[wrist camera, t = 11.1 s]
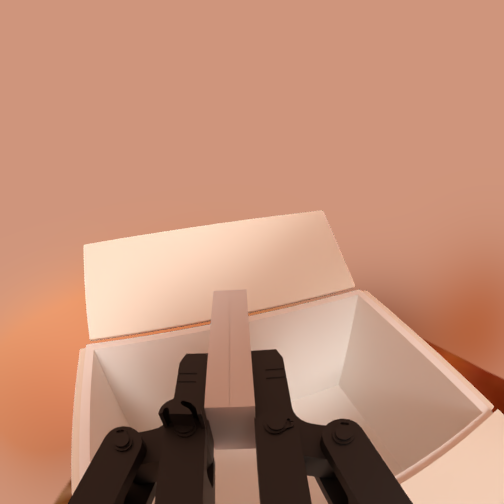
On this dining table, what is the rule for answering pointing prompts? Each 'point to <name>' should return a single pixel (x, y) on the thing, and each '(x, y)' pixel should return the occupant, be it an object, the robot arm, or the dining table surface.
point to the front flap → (209, 272)
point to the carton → (316, 398)
